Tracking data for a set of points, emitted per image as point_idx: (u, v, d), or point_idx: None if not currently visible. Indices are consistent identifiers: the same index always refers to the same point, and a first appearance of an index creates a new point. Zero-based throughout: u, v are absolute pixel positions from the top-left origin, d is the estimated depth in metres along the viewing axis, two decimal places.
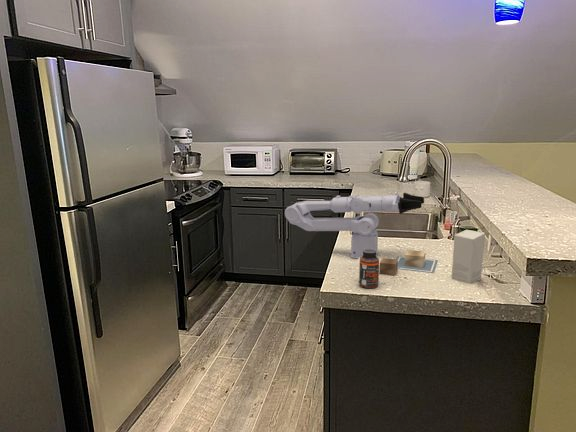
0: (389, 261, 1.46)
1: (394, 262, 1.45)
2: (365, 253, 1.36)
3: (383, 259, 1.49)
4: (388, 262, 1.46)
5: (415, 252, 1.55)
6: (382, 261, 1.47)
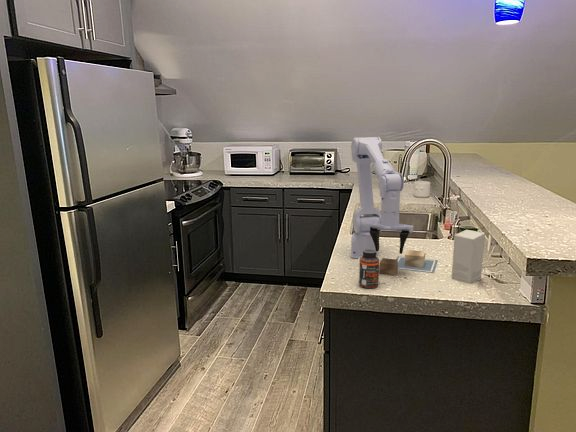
0: (389, 261, 1.46)
1: (394, 262, 1.45)
2: (365, 253, 1.36)
3: (383, 259, 1.49)
4: (388, 262, 1.46)
5: (415, 252, 1.55)
6: (382, 261, 1.47)
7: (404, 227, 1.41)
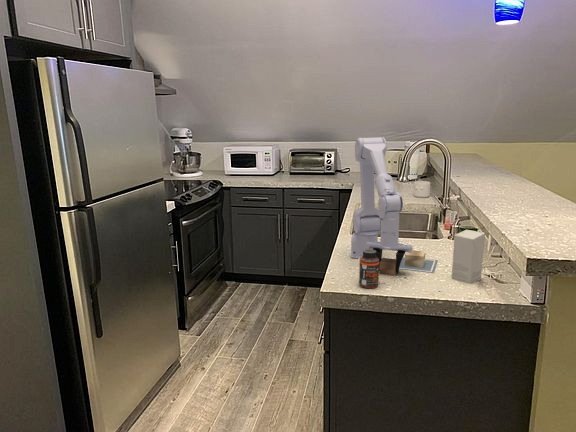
0: (389, 261, 1.46)
1: (394, 262, 1.45)
2: (365, 253, 1.36)
3: (383, 259, 1.49)
4: (388, 261, 1.46)
5: (415, 252, 1.55)
6: (382, 261, 1.47)
7: (403, 247, 1.42)
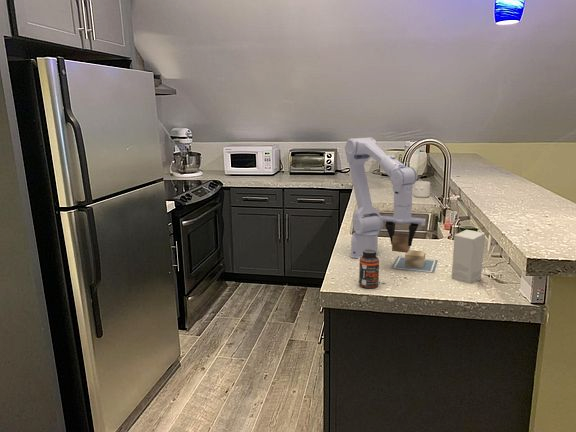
0: (402, 235, 1.48)
1: (407, 236, 1.47)
2: (365, 253, 1.36)
3: (396, 233, 1.50)
4: (401, 236, 1.47)
5: (415, 252, 1.55)
6: (395, 235, 1.48)
7: (416, 220, 1.44)
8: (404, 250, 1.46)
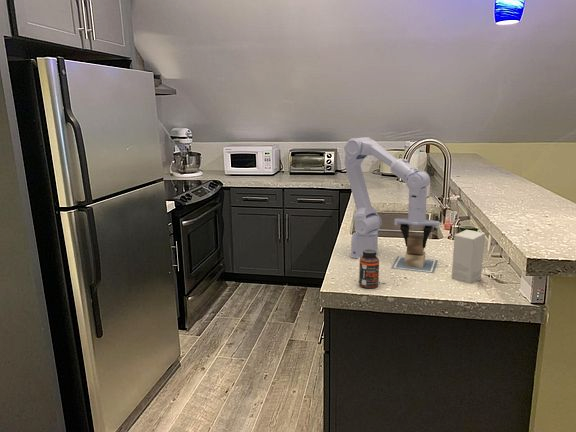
0: (416, 237, 1.52)
1: (421, 238, 1.51)
2: (365, 253, 1.36)
3: (410, 236, 1.54)
4: (415, 238, 1.51)
5: None
6: (409, 237, 1.52)
7: (431, 223, 1.48)
8: (419, 252, 1.51)
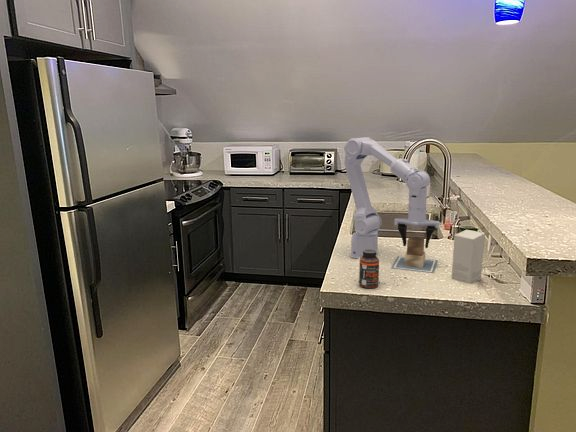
0: (416, 239, 1.52)
1: (421, 240, 1.51)
2: (365, 253, 1.36)
3: (410, 237, 1.54)
4: (415, 240, 1.52)
5: None
6: (409, 239, 1.52)
7: (431, 223, 1.48)
8: (419, 254, 1.51)
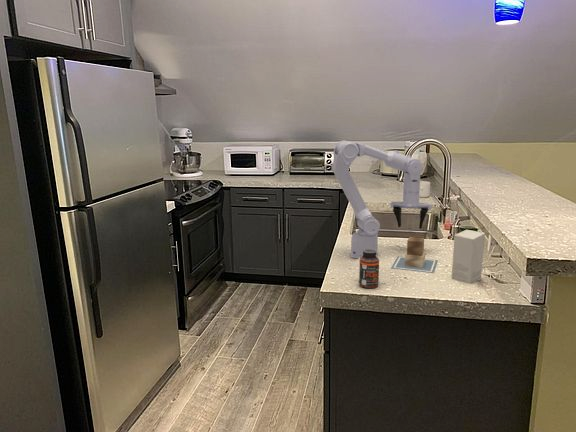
0: (416, 239, 1.52)
1: (421, 240, 1.51)
2: (365, 253, 1.36)
3: (410, 237, 1.54)
4: (415, 240, 1.52)
5: None
6: (409, 239, 1.52)
7: (424, 205, 1.62)
8: (419, 254, 1.51)
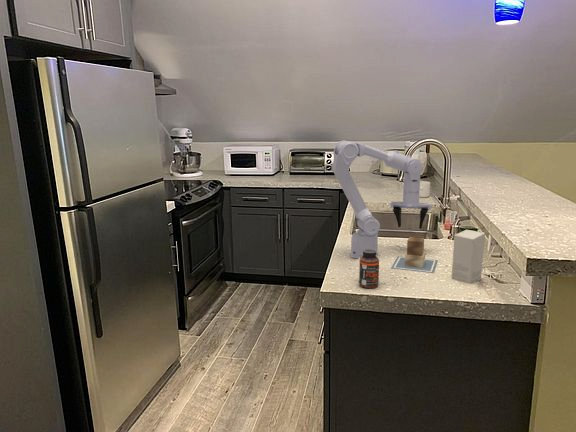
0: (416, 239, 1.52)
1: (421, 240, 1.51)
2: (365, 253, 1.36)
3: (410, 237, 1.54)
4: (415, 240, 1.52)
5: None
6: (409, 239, 1.52)
7: (424, 205, 1.62)
8: (419, 254, 1.51)
